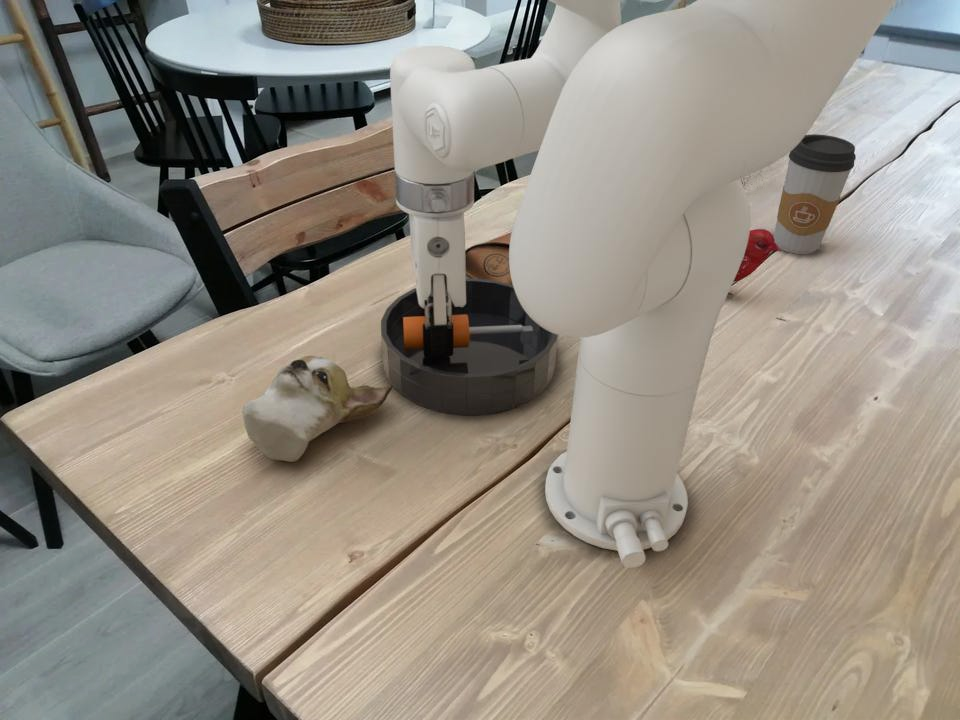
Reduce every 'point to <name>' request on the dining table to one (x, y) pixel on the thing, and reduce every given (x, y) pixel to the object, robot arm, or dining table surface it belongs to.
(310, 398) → the ceramic sculpture
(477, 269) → the sunglasses case
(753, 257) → the decorative bird figurine
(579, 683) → the dining table surface
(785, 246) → the coffee cup
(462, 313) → the bowl
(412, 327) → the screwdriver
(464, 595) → the dining table surface
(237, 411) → the dining table surface
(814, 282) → the dining table surface
